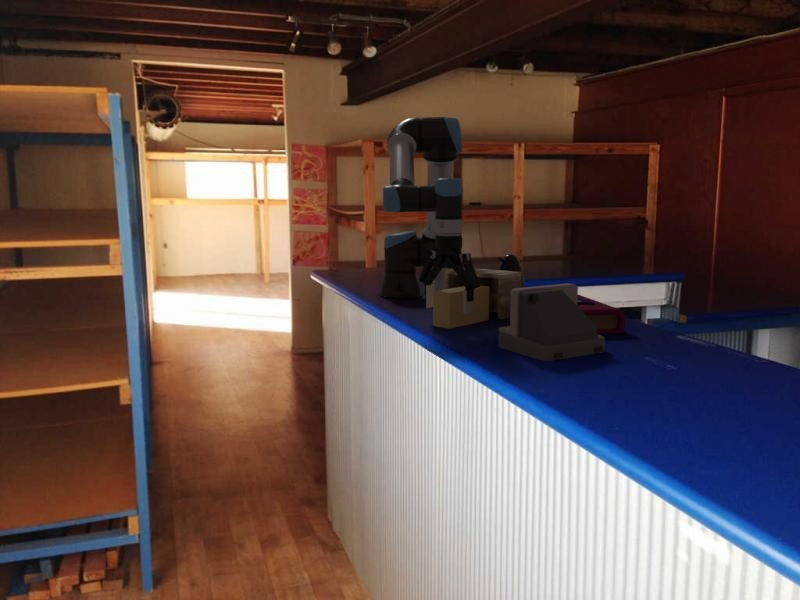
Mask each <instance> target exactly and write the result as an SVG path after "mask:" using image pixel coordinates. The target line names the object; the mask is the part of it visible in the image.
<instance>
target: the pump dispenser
mask: <svg viewBox="0 0 800 600" xmlns="http://www.w3.org/2000/svg"><path fill="white" fill-rule="evenodd" d="M497 260H498V261H499V262H500V263H499V267H498V269H497V270H503V271H515V272H522V279H521V288H524V287H525V279H524V272H523V268H522V265H521V263H520V260H519V258H518V257H517V255H515V254H512V253H509V254H507V255H504V257H500V256H499V257H498V256H497Z"/></svg>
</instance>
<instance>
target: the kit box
mask: <svg viewBox="0 0 800 600" xmlns="http://www.w3.org/2000/svg"><path fill="white" fill-rule="evenodd" d="M465 289H466V288H465V286H463V287H457V288H451V289H445V290H438V291H433V307H432V310H433V311H432V312H433V313H432V317H433V318H432V326H433V327H437V328H442V329H443V328H444V329H450V330H451V329H454V328H458V327H463V326H468V325H472V324H476V323H481V322H486V321H490V312H489V287H487V286H480V287H478V288H475V289H474V300H473V301H472V312H471V313H467V314H464V313H463V295H464V290H465Z"/></svg>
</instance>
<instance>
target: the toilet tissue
mask: <svg viewBox="0 0 800 600" xmlns="http://www.w3.org/2000/svg"><path fill="white" fill-rule="evenodd" d="M463 268H464V267H463ZM445 270H449V268H442V269H441V271H440V272H439V274H438V275H437V277H436V278H435V279H434V281H433V284H434V291H438V290H445Z"/></svg>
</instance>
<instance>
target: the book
mask: <svg viewBox="0 0 800 600" xmlns="http://www.w3.org/2000/svg"><path fill="white" fill-rule="evenodd" d="M577 306H578V307H579V308H580V309H581V311H582V312H583V313H584V314H585V315H586V316H587V317H588V318H589V319H590V320H591V321H592V322H593V324H594V326H595V327H596V330H597V334H598V335H601V334H600V333H621V334H623V332H624V330H625V326H626V315H625V312H624V311H623V310H621V309H620V308H617V307H614V306H612V305H608V304H606V303H603V302H601V301H598V300H595V299H592V298H589V297H586V296H583V295H581V294H578V298H577Z"/></svg>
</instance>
